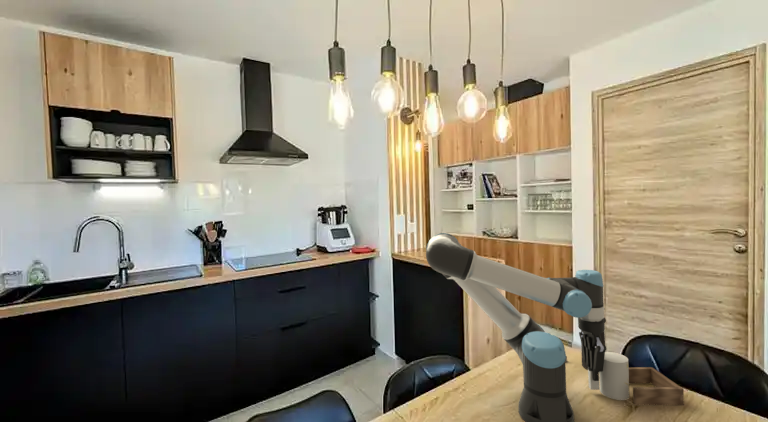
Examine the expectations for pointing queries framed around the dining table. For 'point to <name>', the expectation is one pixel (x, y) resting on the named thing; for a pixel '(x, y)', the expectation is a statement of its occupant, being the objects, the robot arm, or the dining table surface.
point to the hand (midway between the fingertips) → (594, 388)
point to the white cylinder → (615, 376)
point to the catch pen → (654, 388)
